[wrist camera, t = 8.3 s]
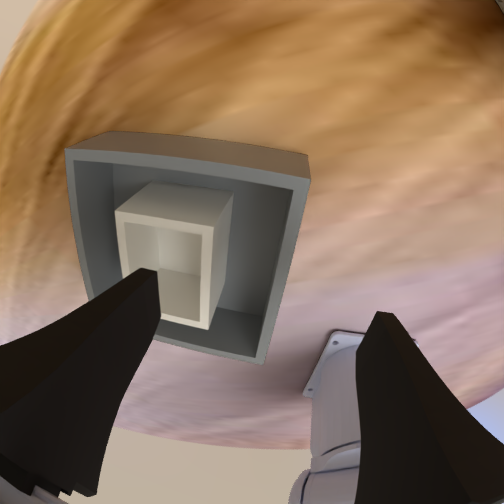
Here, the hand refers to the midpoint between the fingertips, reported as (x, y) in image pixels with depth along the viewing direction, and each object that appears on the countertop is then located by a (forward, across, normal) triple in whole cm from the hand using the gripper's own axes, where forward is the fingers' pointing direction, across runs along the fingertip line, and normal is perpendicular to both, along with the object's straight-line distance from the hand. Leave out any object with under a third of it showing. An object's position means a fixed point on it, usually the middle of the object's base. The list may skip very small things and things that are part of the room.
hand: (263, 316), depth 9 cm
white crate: (+9, +5, +3) cm, 11 cm away
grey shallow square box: (+9, +5, +3) cm, 11 cm away
